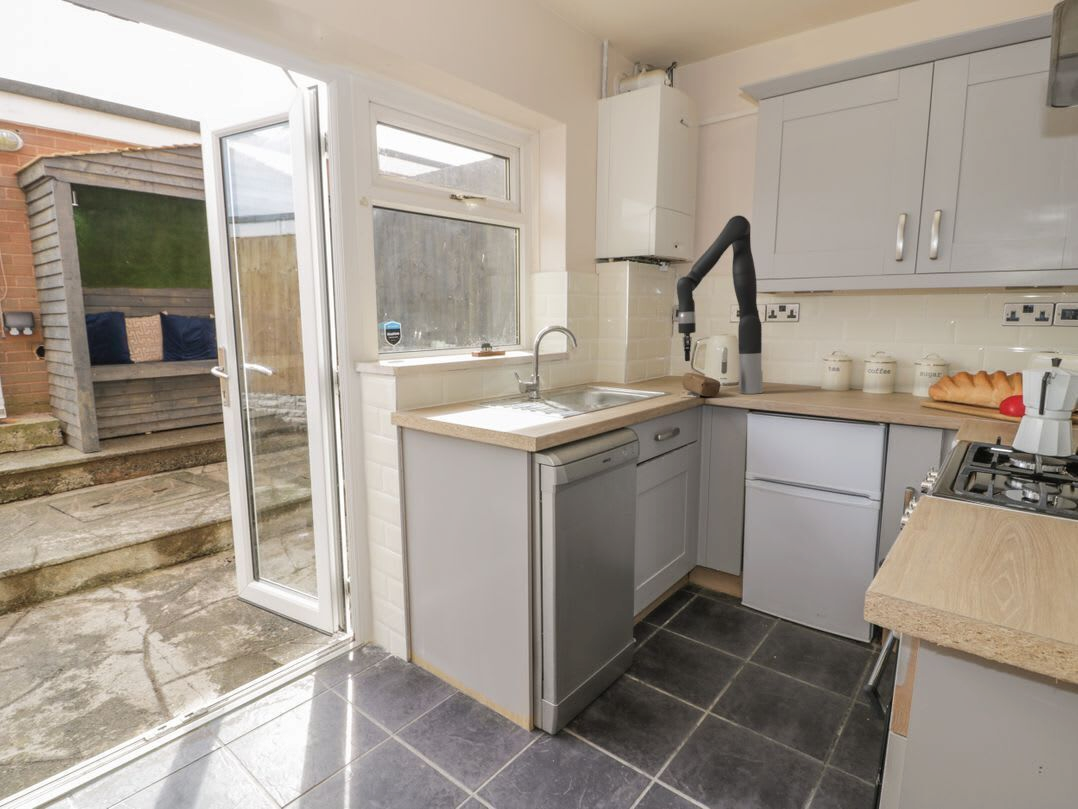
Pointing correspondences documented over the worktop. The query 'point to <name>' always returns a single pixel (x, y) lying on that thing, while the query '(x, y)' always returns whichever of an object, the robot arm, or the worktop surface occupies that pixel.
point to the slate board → (693, 394)
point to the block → (701, 384)
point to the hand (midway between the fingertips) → (687, 361)
